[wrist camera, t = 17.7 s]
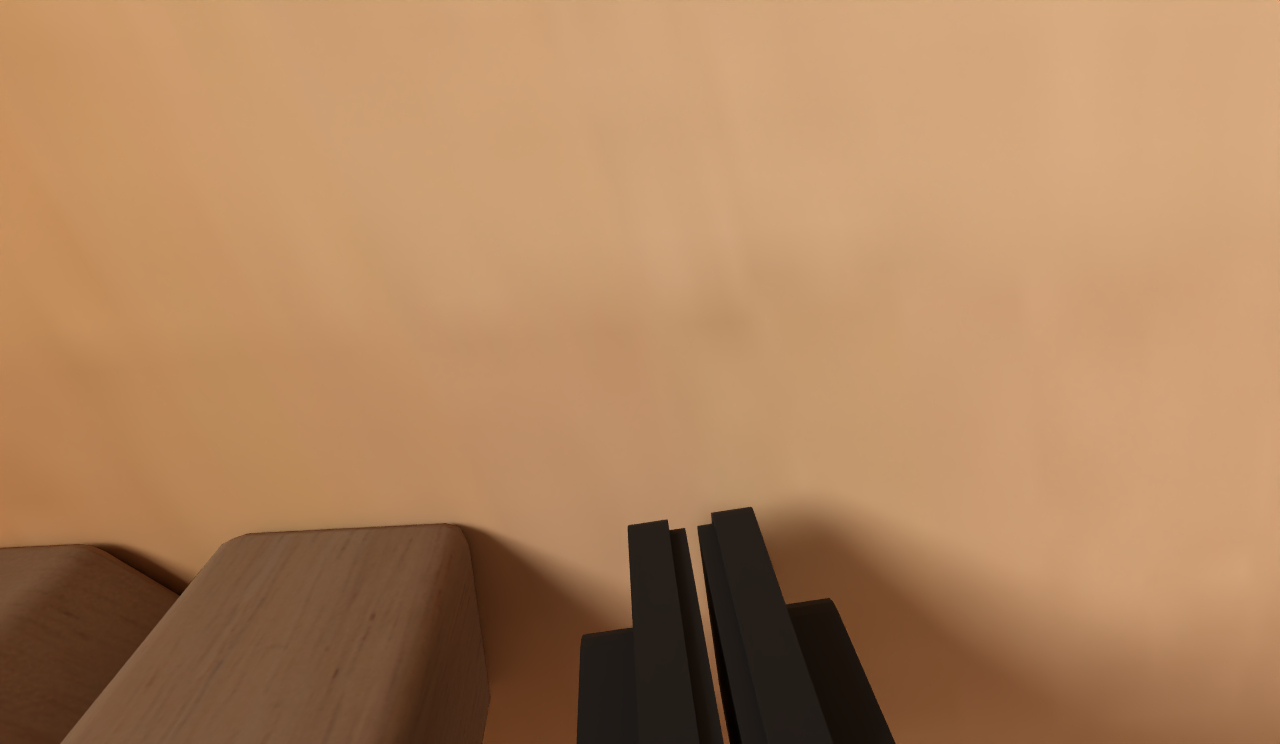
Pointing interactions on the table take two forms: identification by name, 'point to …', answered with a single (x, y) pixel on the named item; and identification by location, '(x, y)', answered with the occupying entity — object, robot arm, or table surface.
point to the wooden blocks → (248, 643)
